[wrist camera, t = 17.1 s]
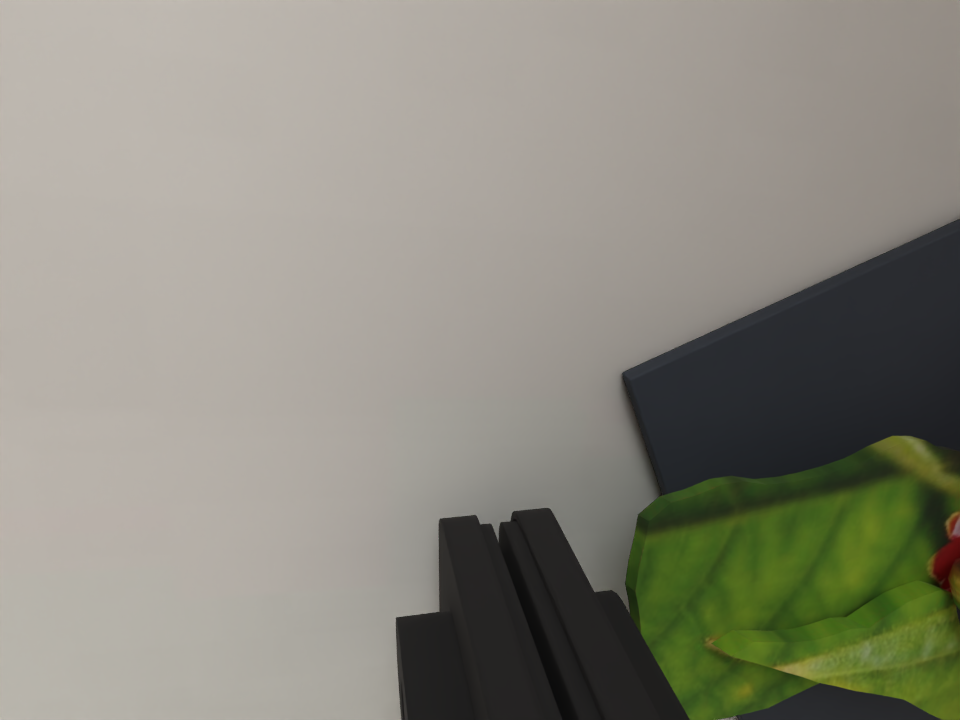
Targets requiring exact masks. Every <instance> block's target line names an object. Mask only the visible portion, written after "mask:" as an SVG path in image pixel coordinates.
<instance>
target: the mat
mask: <svg viewBox="0 0 960 720" xmlns="http://www.w3.org/2000/svg"><path fill="white" fill-rule="evenodd" d="M622 375H623V378H624V381H625V384H626V387H627V390H628V393H629V396H630V399H631V402H632V405H633V408H634V411H635V414H636V417H637V420H638V423H639V426H640V429H641V432H642V435H643V438H644V441H645V444H646V447H647V450H648V453H649V456H650V459H651V462H652V465H653V468H654V471H655V474H656V477H657V480H658V483H659V485H660V488H661V491H662V494H663V495H666V494H669V493H673V492H676V491H680V490H683V489H686V488H689V487H691V486H693V485H696V484H698V483H701V482H703V481H706V480H708V479H712V478H719V477H726V476H736V477H743V478H750V479H760V478H770V477H779V476H784V475H788V474H793V473H798V472H802V471H805V470H809V469H813V468H816V467H820V466H823V465H826V464H829V463H832V462H835V461H838V460H841V459H844V458H846V457H848V456H850V455H852V454H854V453H856V452H857V451H859V450H861V449H863V448H865V447H867V446H869V445H872V444H874V443H876V442H879V441H881V440H883V439H886V438H888V437H891V436H912V437H916V438H919V439H923V440H926V441H928V442H930V443H931V444H933V445H935V446H942V447H946V448H950V449H953V450H957V451H959V452H960V219H959V220H957V221H954V222H952V223H950V224H948V225H946V226H943V227H941V228H939V229H937V230H935V231H932V232H930V233H928V234H926V235H924V236H921V237H919V238H917V239H915V240H913V241H910V242H908V243H906V244H904V245H902V246H899V247H897V248H895V249H893V250H891V251H888V252H886V253H884V254H882V255H880V256H877V257H875V258H873V259H871V260H869V261H866V262H864V263H862V264H860V265H858V266H855V267H853V268H851V269H849V270H847V271H844V272H842V273H840V274H838V275H836V276H834V277H831V278H829V279H827V280H825V281H823V282H820V283H818V284H816V285H814V286H812V287H809V288H807V289H805V290H803V291H801V292H798V293H796V294H794V295H792V296H790V297H787V298H785V299H783V300H781V301H779V302H776V303H774V304H772V305H770V306H768V307H765V308H763V309H761V310H759V311H757V312H754V313H752V314H750V315H748V316H746V317H743V318H741V319H739V320H737V321H735V322H732V323H730V324H728V325H726V326H724V327H721V328H719V329H717V330H715V331H713V332H710V333H708V334H706V335H704V336H702V337H699V338H697V339H695V340H693V341H691V342H688V343H686V344H684V345H682V346H680V347H678V348H675V349H673V350H671V351H669V352H667V353H664V354H662V355H660V356H658V357H656V358H653V359H651V360H649V361H647V362H645V363H642V364H640V365H638V366H636V367H634V368H631V369H629V370H627V371H625V372H623V373H622ZM956 609H957V614H958V619H959V623H960V610H959V609H958V607H957V606H956ZM737 717H738V720H942V719H940V718H937V717H935V716H933V715H931V714H929V713H927V712H925V711H924V710H922V709H920V708H918V707H916V706H915V705H913V704H911V703H909V702H907V701H906V700H904V699H899V698H894V697H889V696H883V695H877V694H872V693H866V692H859V691H853V690H849V689H845V688H841V687H837V686H833V685H828V684H823V683H819V684H816V685H814V686H812V687H810V688H808V689H806V690H804V691H802V692H800V693H797V694H795V695H793V696H791V697H789V698H787V699H785V700H783V701H781V702H779V703H777V704H775V705H773V706H771V707H769V708H766V709H762V710H758V711H754V712H750V713H746V714H742V715H737Z"/></svg>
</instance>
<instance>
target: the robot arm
mask: <svg viewBox="0 0 960 720" xmlns="http://www.w3.org/2000/svg"><path fill="white" fill-rule="evenodd" d="M439 601H440V612H436V613H428V614H420V615H412V616H404V617H396V639H397V663H398V680H399V695H400V708H401V719H402V720H690V719H689V717H688V715H687V714H686V712H685V710H684V708H683V707H682V705H681V703H680V701H679V700H678V698H677V696H676V694H675V693H674V691H673V689H672V687H671V686H670V684H669V682H668V680H667V679H666V677H665V675H664V673H663V672H662V670H661V668H660V666H659V665H658V663H657V661H656V659H655V658H654V656H653V654H652V652H651V651H650V649H649V647H648V645H647V644H646V642H645V640H644V638H643V637H642V635H641V633H640V631H639V630H638V628H637V626H636V624H635V623H634V621H633V619H632V617H631V616H630V614H629V612H628V610H627V608H626V607H625V605H624V603H623V601H622V600H621V599H620V597H619V596H618V594H617V593H615V592H614V591H612V590H610V591H602V592H594V591H593V589H592V587H591V585H590V583H589V581H588V579H587V577H586V575H585V574H584V572H583V570H582V568H581V566H580V564H579V562H578V560H577V558H576V556H575V554H574V553H573V551H572V549H571V547H570V545H569V543H568V541H567V539H566V537H565V535H564V533H563V531H562V530H561V528H560V526H559V524H558V522H557V520H556V518H555V516H554V514H553V512H552V511H551V510H550V509H549V508H542V509H532V510H522V511H514V512H513V513H512V516H511V521H510V522H501V523H500V526H499V543H498V540H497V537H496V535H495V532H494V529H493V527H492V524H481V525H480V523H479V520H478V518H477V516H476V515H472V516H462V517H452V518H443V519H440V520H439Z"/></svg>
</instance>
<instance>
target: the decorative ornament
mask: <svg viewBox="0 0 960 720" xmlns="http://www.w3.org/2000/svg"><path fill="white" fill-rule="evenodd" d="M625 585H626V590H627V595H628V600H629V608H630V616H631V617H632V619H633V621H634V623H635V624H636V626H637V628H638V630H639V631H640V633H641V635H642V637H643V638H644V640H645V642H646V644H647V645H648V647H649V649H650V651H651V652H652V654H653V656H654V658H655V659H656V661H657V663H658V665H659V666H660V668H661V670H662V672H663V673H664V675H665V677H666V679H667V680H668V682H669V684H670V686H671V687H672V689H673V691H674V693H675V694H676V696H677V698H678V700H679V701H680V703H681V705H682V707H683V708H684V710H685V712H686V714H687V715H688V717H689V719H690V720H717V719H722V718H728V717H733V716H737V715H742V714H746V713H750V712H754V711H758V710H762V709H766V708H769V707H771V706H773V705H775V704H777V703H779V702H781V701H783V700H785V699H787V698H789V697H791V696H793V695H795V694H797V693H800V692H802V691H804V690H806V689H808V688H810V687H812V686H814V685H816V684H819V683H823V684H828V685H833V686H837V687H841V688H845V689H849V690H853V691H859V692H866V693H872V694H877V695H883V696H889V697H894V698H899V699H904V700H906V701H907V702H909V703H911V704H913V705H915V706H916V707H918V708H920V709H922V710H924V711H925V712H927V713H929V714H931V715H933V716H935V717H937V718H940V719H942V720H960V623H959V619H958V614H957V609H956V606H957V607H958V609H959V610H960V452H959V451H957V450H953V449H950V448H946V447H942V446H935V445H933V444H931V443H930V442H928V441H926V440H923V439H919V438H916V437H912V436H891V437H888V438H886V439H883V440H881V441H879V442H876V443H874V444H872V445H869V446H867V447H865V448H863V449H861V450H859V451H857V452H856V453H854V454H852V455H850V456H848V457H846V458H844V459H841V460H838V461H835V462H832V463H829V464H826V465H823V466H820V467H816V468H813V469H809V470H805V471H802V472H798V473H793V474H788V475H784V476H779V477H770V478H760V479H750V478H743V477H736V476H726V477H719V478H712V479H708V480H706V481H703V482H701V483H698V484H696V485H693V486H691V487H689V488H686V489H683V490H680V491H676V492H673V493H669V494H666V495H662V496H660V497H658V498H657V499H656V500H655V501H654V502H652V503H651V504H650V505H649V506H648V507H647V508H645V509H644V510H643V511H642V512H641V513H640V514H638V518H637V524H636V529H635V535H634V539H633V544H632V548H631V552H630V557H629V561H628V568H627V575H626V582H625Z"/></svg>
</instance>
